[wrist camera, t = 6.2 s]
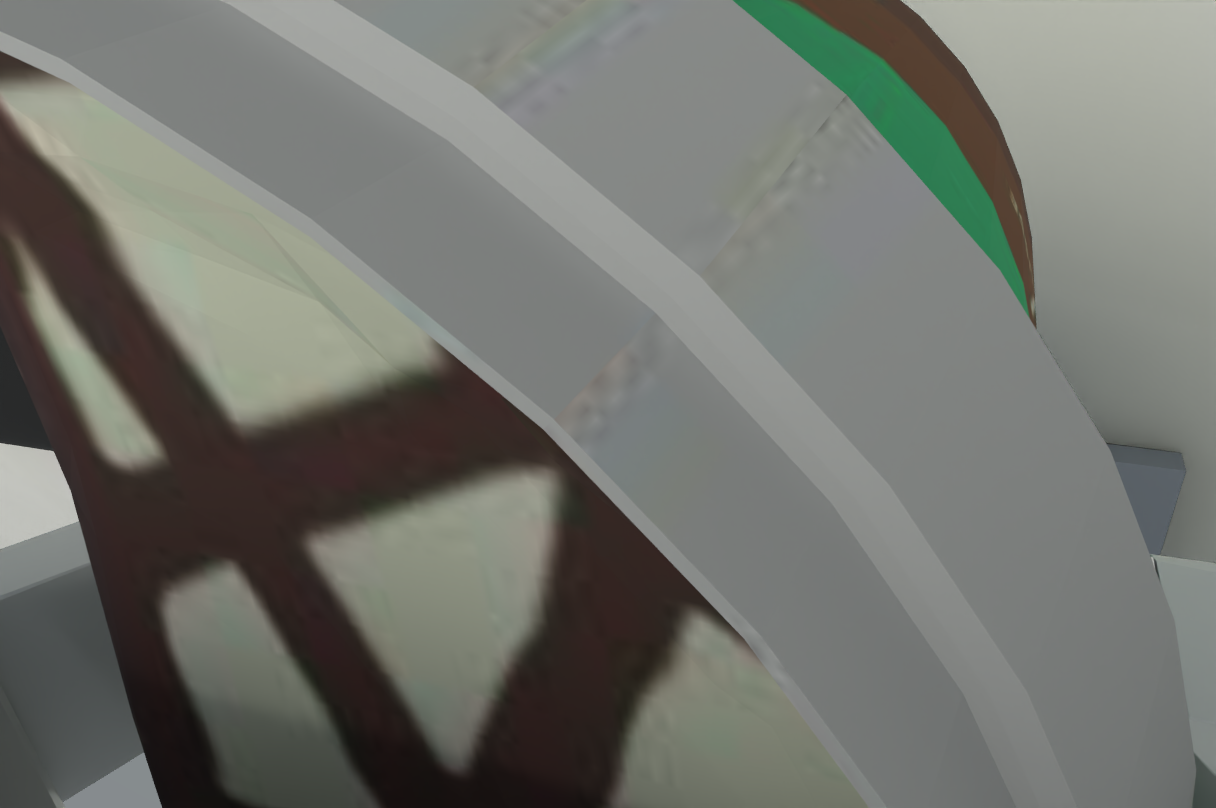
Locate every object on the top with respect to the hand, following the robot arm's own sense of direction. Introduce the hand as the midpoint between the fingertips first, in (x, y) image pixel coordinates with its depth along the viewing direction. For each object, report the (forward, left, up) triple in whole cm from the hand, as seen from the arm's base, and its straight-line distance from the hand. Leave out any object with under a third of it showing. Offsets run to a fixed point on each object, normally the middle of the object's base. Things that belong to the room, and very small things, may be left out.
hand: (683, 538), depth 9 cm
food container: (-1, 0, -6) cm, 6 cm away
